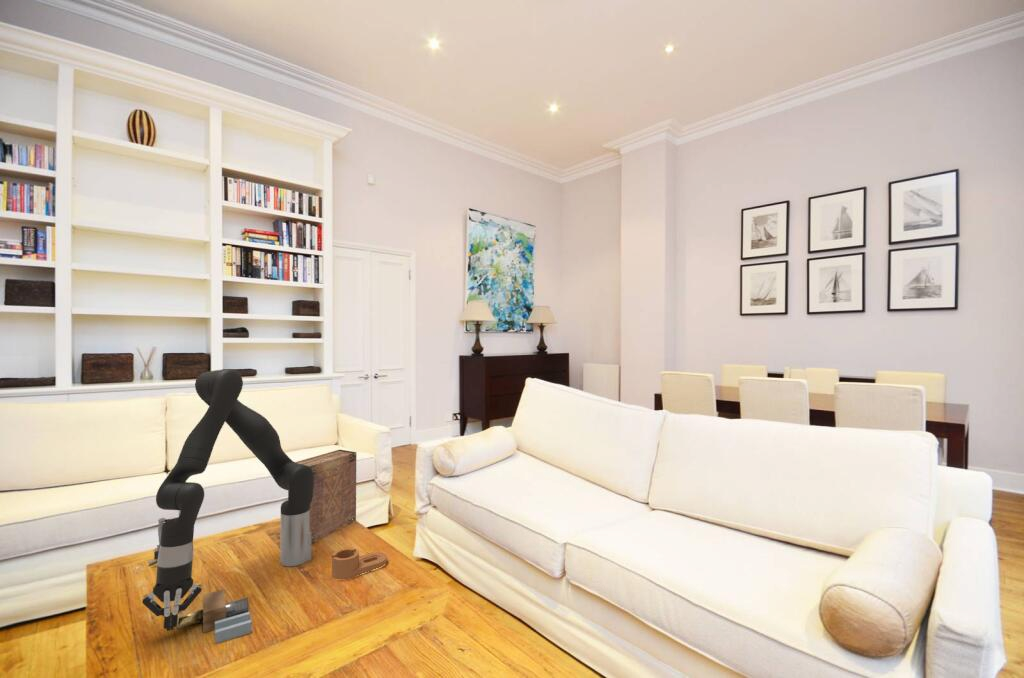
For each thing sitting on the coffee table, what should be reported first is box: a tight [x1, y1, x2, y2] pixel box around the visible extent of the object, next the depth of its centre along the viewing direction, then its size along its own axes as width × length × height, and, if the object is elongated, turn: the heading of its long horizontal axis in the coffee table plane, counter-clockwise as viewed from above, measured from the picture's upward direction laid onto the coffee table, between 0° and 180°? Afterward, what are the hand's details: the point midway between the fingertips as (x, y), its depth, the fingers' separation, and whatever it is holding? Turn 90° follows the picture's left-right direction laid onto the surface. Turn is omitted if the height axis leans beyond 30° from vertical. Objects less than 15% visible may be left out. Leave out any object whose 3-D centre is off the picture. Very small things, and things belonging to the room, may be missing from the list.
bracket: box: [331, 547, 388, 581], centre depth 154 cm, size 18×8×7 cm, turn 128°
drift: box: [175, 608, 203, 630], centre depth 124 cm, size 6×3×3 cm
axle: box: [225, 597, 250, 618], centre depth 128 cm, size 10×4×4 cm, turn 122°
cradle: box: [214, 611, 253, 644], centre depth 121 cm, size 8×5×3 cm
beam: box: [202, 589, 226, 633], centre depth 126 cm, size 5×10×5 cm, turn 34°
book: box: [287, 449, 357, 545], centre depth 181 cm, size 25×9×30 cm, turn 155°
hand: (170, 628), depth 119 cm, fingers closed
